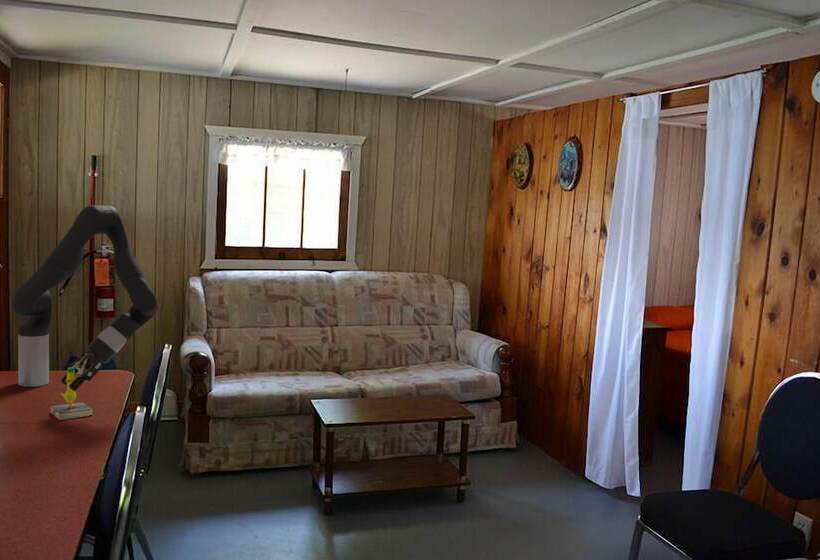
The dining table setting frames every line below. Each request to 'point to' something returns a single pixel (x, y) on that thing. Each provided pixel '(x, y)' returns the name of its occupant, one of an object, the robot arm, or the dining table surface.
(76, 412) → the stand
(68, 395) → the toy figure
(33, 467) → the dining table surface
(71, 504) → the dining table surface
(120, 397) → the dining table surface
